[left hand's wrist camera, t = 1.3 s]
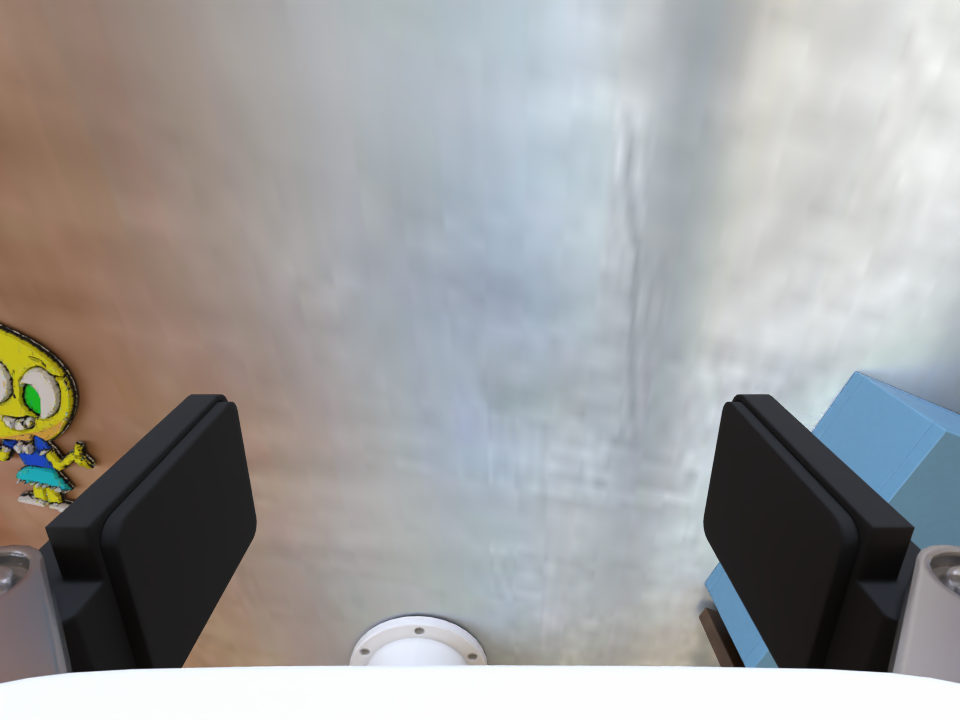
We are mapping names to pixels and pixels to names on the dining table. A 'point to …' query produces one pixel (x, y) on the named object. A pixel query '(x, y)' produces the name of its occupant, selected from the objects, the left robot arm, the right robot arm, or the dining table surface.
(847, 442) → the blue drawer cabinet
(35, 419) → the toy
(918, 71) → the dining table surface
